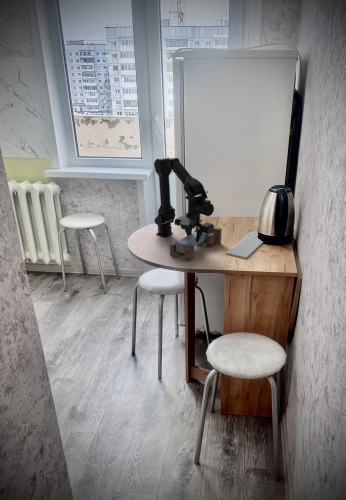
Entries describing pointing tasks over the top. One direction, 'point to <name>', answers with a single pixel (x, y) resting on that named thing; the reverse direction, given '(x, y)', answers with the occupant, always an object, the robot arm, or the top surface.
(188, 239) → the bed rail
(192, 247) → the headboard posts
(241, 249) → the baseboard molding
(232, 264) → the top surface
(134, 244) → the top surface
